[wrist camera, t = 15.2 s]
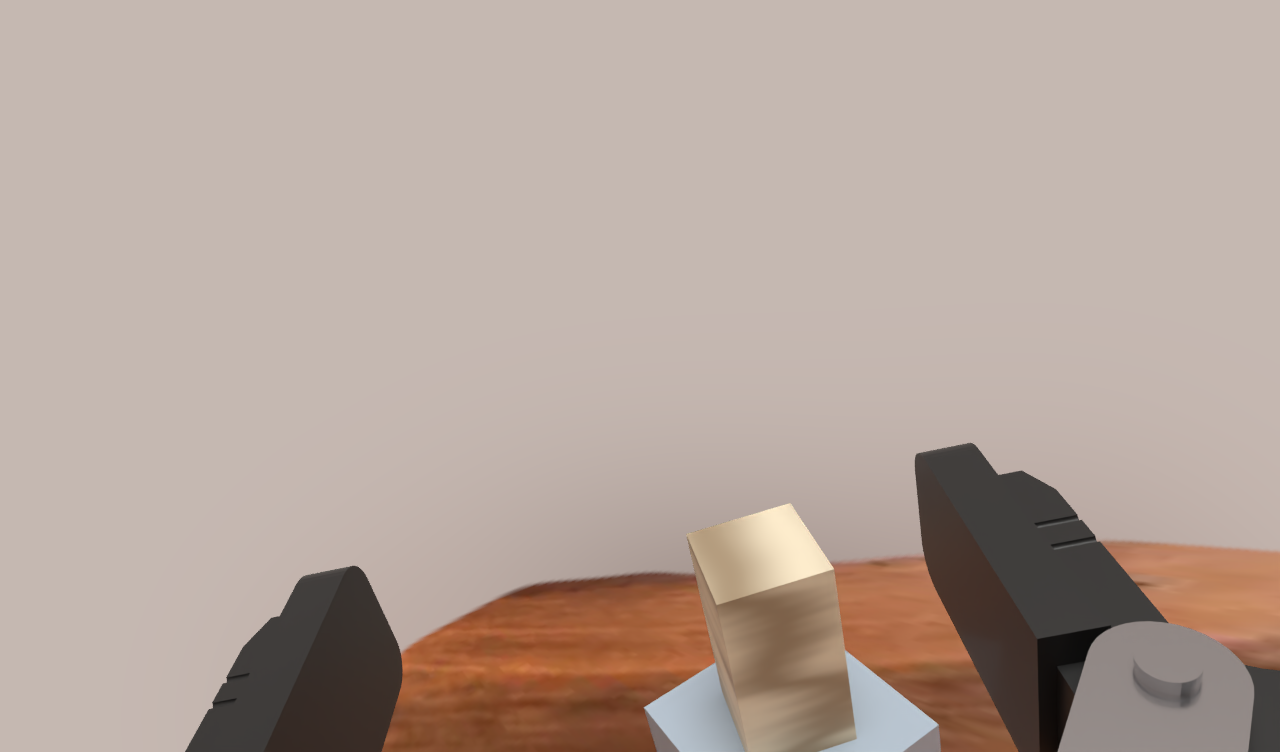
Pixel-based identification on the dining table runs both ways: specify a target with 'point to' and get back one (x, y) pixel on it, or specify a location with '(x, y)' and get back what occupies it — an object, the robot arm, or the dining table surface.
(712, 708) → the slate block
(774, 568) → the birch block
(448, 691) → the dining table surface
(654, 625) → the dining table surface
